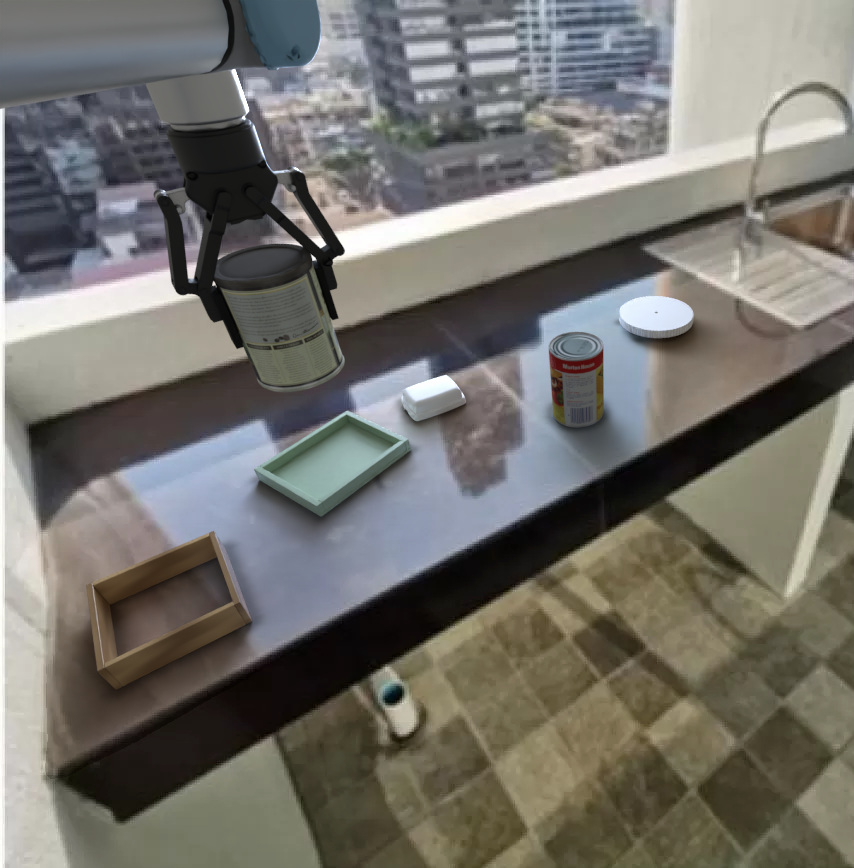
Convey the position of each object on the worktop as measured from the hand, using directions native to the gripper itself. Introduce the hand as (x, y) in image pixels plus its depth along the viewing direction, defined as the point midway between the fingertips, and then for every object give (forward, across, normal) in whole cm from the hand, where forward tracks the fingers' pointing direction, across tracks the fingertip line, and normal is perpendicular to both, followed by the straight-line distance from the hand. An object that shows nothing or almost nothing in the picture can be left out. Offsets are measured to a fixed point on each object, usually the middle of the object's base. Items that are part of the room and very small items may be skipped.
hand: (286, 328), depth 71 cm
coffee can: (+6, 0, 0) cm, 6 cm away
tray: (+21, 0, 0) cm, 21 cm away
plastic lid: (+22, -62, -2) cm, 66 cm away
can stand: (+21, +22, +14) cm, 34 cm away
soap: (+22, -17, -5) cm, 28 cm away
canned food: (+22, -34, +11) cm, 42 cm away
